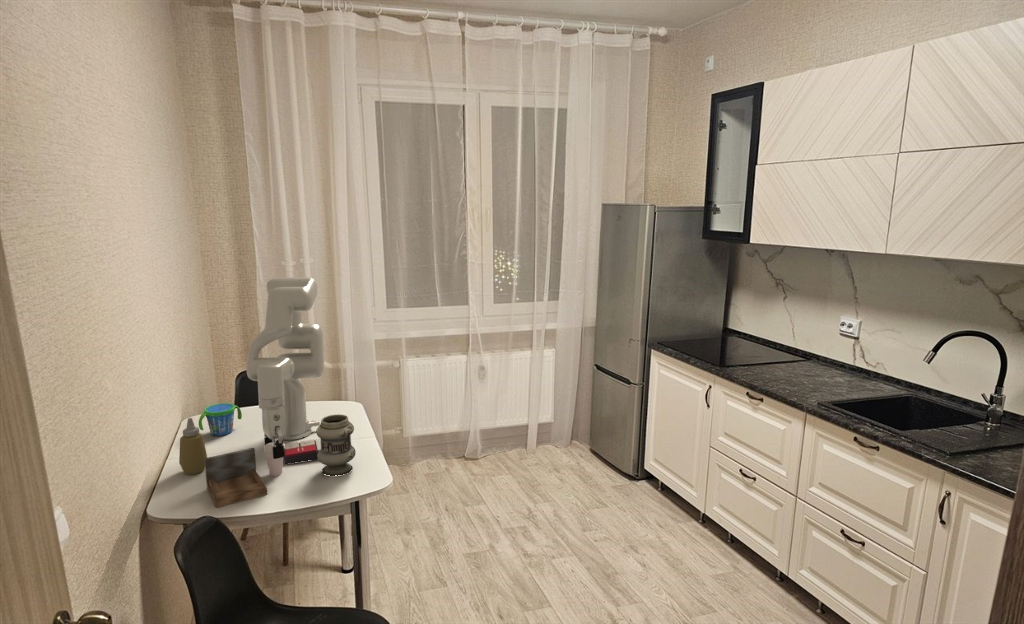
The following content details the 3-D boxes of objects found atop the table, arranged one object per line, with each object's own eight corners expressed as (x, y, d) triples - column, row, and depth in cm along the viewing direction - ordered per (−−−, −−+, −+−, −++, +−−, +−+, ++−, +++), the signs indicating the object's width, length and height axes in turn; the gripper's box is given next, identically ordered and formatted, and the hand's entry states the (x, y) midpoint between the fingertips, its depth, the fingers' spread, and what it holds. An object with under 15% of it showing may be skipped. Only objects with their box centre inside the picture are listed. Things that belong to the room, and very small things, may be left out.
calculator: (282, 443, 204) (327, 435, 210) (284, 455, 205) (328, 446, 211) (283, 455, 194) (330, 447, 200) (285, 467, 195) (331, 458, 201)
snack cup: (205, 442, 213) (203, 415, 211) (194, 434, 220) (192, 409, 218) (248, 431, 224) (246, 405, 222) (236, 424, 231) (235, 399, 229)
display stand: (255, 477, 186) (253, 447, 184) (267, 494, 175) (265, 462, 173) (206, 489, 177) (204, 458, 176) (216, 507, 166) (213, 475, 165)
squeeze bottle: (187, 466, 193) (182, 414, 190) (212, 465, 194) (208, 414, 191) (175, 477, 185) (170, 423, 182) (201, 476, 186) (197, 422, 183)
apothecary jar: (317, 465, 195) (314, 414, 192) (354, 460, 199) (352, 410, 196) (319, 480, 184) (316, 426, 181) (358, 475, 188) (356, 422, 185)
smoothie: (279, 478, 185) (276, 437, 182) (261, 476, 186) (258, 435, 184) (290, 470, 191) (288, 429, 189) (273, 468, 192) (270, 428, 190)
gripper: (292, 406, 180) (294, 459, 182) (276, 393, 193) (278, 442, 196) (266, 410, 175) (269, 464, 178) (252, 397, 189) (255, 447, 191)
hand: (274, 453), depth 187 cm, fingers open, 9 cm apart
